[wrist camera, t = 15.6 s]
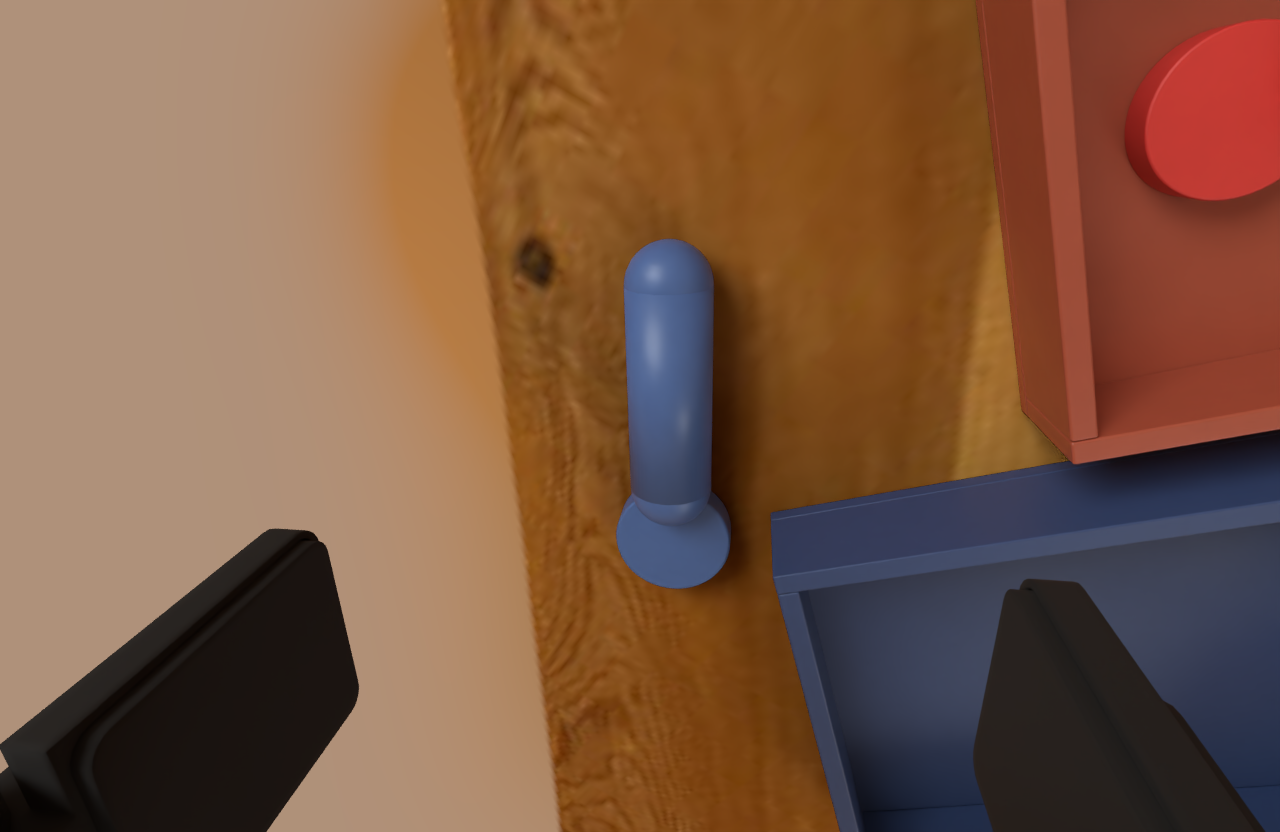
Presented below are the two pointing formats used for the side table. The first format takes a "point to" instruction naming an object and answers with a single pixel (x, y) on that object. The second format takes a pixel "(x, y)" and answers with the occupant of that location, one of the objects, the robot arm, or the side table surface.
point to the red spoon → (1210, 115)
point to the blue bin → (1001, 560)
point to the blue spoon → (671, 419)
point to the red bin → (1123, 239)
